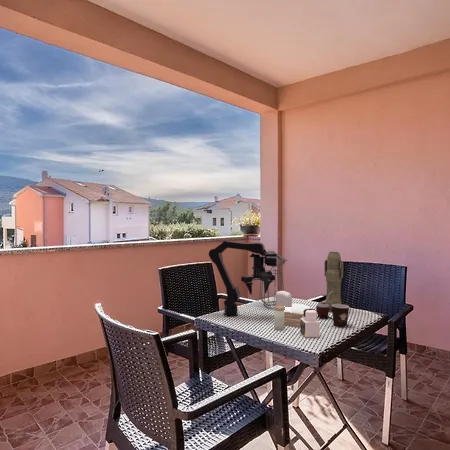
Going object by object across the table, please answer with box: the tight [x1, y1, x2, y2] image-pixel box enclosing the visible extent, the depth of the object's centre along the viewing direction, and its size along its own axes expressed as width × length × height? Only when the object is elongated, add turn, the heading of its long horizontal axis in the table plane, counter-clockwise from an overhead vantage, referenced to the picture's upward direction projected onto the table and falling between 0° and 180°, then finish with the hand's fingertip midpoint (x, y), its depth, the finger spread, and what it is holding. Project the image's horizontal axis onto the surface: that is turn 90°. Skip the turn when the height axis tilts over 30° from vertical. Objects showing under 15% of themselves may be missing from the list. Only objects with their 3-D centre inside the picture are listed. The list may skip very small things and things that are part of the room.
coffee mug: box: [325, 303, 350, 328], centre depth 185 cm, size 12×9×10 cm
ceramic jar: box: [273, 305, 285, 331], centre depth 178 cm, size 5×5×11 cm
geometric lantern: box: [259, 250, 288, 309], centre depth 222 cm, size 16×16×35 cm
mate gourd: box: [315, 291, 333, 320], centre depth 199 cm, size 8×8×15 cm
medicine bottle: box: [299, 308, 321, 338], centre depth 168 cm, size 7×7×12 cm
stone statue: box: [323, 251, 345, 314], centre depth 213 cm, size 9×12×35 cm
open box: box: [284, 312, 303, 328], centre depth 188 cm, size 13×13×4 cm
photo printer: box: [275, 290, 293, 308], centre depth 209 cm, size 10×4×12 cm, turn 39°
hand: (258, 293), depth 198 cm, fingers open, 9 cm apart
